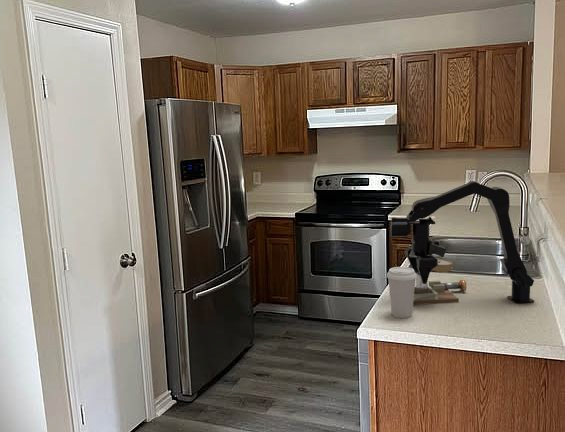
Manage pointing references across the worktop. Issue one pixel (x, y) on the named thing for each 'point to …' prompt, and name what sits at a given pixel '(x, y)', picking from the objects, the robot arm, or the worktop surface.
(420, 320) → the worktop surface
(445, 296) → the tray
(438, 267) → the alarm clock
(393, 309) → the coffee cup
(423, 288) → the grey cylinder
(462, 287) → the lock pin
